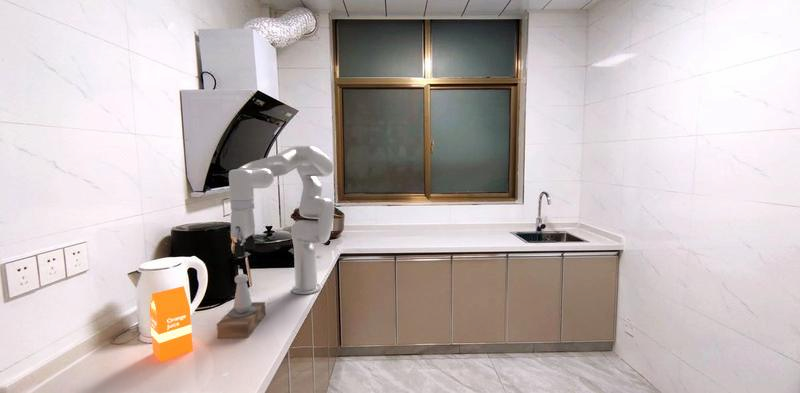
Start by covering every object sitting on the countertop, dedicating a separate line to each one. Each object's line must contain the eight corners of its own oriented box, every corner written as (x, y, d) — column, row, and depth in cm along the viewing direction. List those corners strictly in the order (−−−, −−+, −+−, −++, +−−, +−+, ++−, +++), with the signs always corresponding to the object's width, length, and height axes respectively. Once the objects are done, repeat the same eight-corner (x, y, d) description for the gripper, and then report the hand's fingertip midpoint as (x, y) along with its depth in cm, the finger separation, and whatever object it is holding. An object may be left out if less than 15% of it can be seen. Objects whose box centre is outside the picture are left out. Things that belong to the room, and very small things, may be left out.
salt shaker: (246, 306, 135) (245, 271, 134) (255, 310, 132) (253, 274, 130) (231, 311, 131) (229, 275, 129) (239, 315, 127) (237, 279, 126)
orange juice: (193, 350, 115) (188, 288, 113) (160, 362, 108) (155, 297, 106) (184, 342, 120) (179, 283, 118) (152, 353, 113) (147, 290, 111)
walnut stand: (239, 315, 140) (238, 301, 140) (265, 314, 141) (264, 300, 140) (217, 338, 122) (216, 322, 122) (248, 337, 123) (247, 322, 122)
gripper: (241, 201, 136) (244, 246, 138) (220, 208, 119) (223, 260, 121) (262, 201, 136) (264, 246, 139) (243, 208, 119) (246, 259, 121)
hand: (245, 252), depth 130 cm, fingers open, 9 cm apart
